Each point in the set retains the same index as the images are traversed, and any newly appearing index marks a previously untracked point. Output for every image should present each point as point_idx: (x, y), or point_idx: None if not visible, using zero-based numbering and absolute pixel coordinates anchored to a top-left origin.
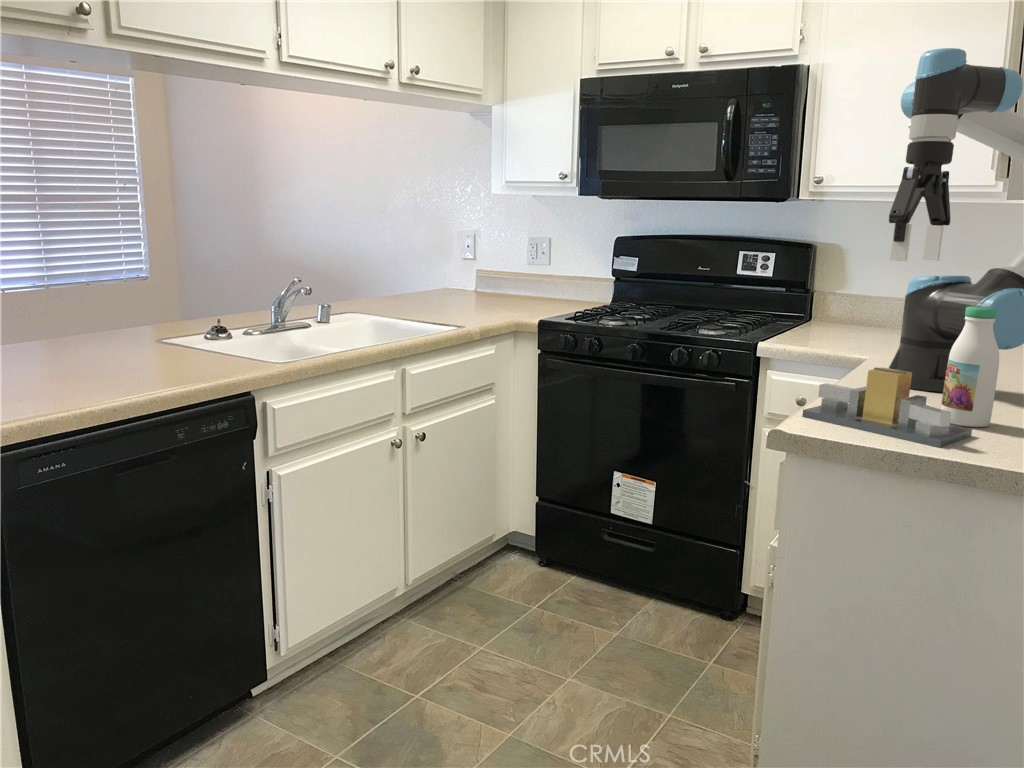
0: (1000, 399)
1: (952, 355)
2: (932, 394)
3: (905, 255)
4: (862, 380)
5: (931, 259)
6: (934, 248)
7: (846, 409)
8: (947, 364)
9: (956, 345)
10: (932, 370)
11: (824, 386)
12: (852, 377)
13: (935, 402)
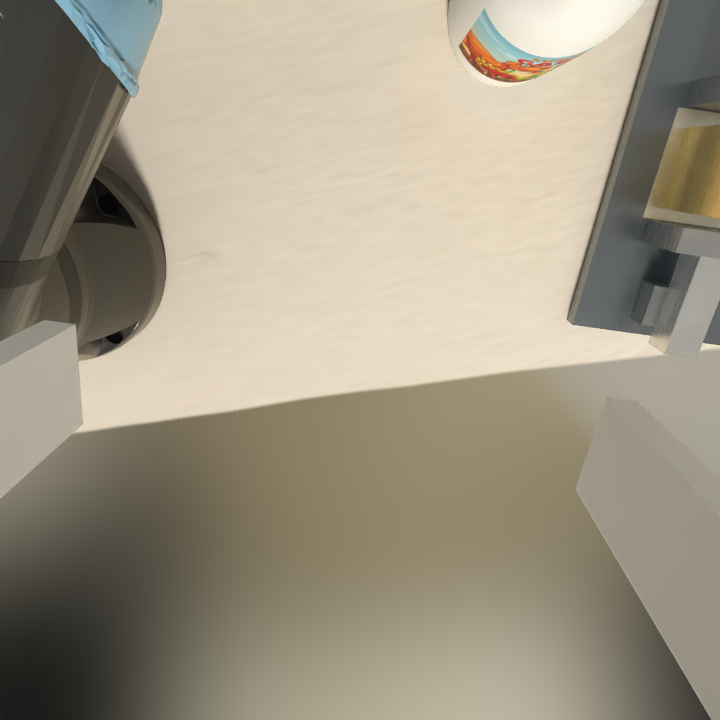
0: None
1: (620, 27)
2: (180, 200)
3: (659, 423)
4: (161, 390)
5: (74, 368)
6: (21, 394)
7: (657, 278)
8: (570, 58)
9: (635, 7)
10: (116, 227)
11: (700, 344)
12: (144, 420)
13: (288, 161)
